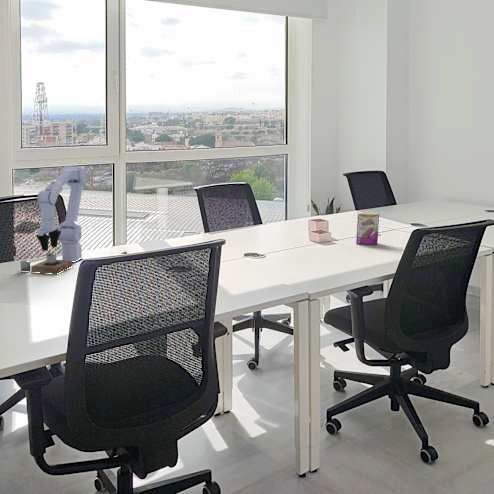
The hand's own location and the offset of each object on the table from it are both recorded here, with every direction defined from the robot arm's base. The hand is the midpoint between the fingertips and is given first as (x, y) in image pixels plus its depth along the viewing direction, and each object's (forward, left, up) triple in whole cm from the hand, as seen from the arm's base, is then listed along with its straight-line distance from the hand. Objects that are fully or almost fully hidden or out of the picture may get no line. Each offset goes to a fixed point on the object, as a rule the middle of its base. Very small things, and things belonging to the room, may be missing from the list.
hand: (49, 248), depth 298 cm
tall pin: (+1, +1, -9) cm, 10 cm away
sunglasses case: (-20, +25, -10) cm, 33 cm away
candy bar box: (-97, +130, -10) cm, 163 cm away
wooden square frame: (+1, +1, -9) cm, 10 cm away
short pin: (+6, -9, -9) cm, 14 cm away
